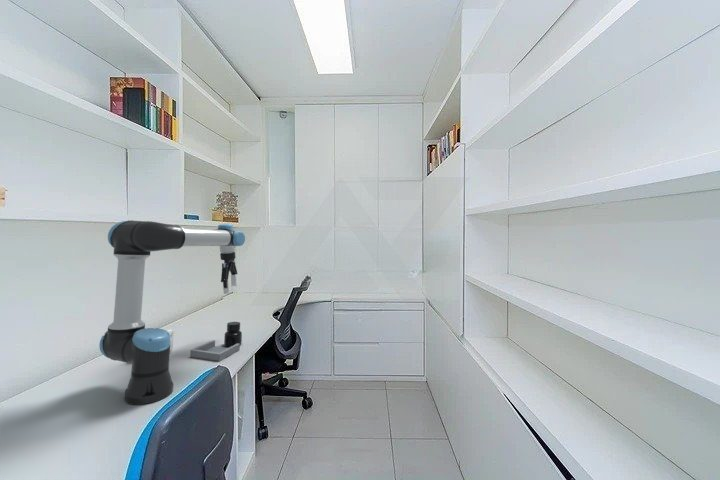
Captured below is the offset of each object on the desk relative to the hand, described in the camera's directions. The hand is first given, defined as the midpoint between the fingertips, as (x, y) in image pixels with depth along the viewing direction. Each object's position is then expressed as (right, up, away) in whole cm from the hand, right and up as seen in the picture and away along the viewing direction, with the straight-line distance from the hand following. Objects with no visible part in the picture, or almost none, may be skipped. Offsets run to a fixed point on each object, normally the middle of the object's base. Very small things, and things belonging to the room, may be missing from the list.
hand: (230, 289), depth 172 cm
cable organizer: (-27, -29, -21) cm, 45 cm away
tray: (-1, -30, -15) cm, 34 cm away
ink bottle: (+2, -31, -1) cm, 31 cm away
